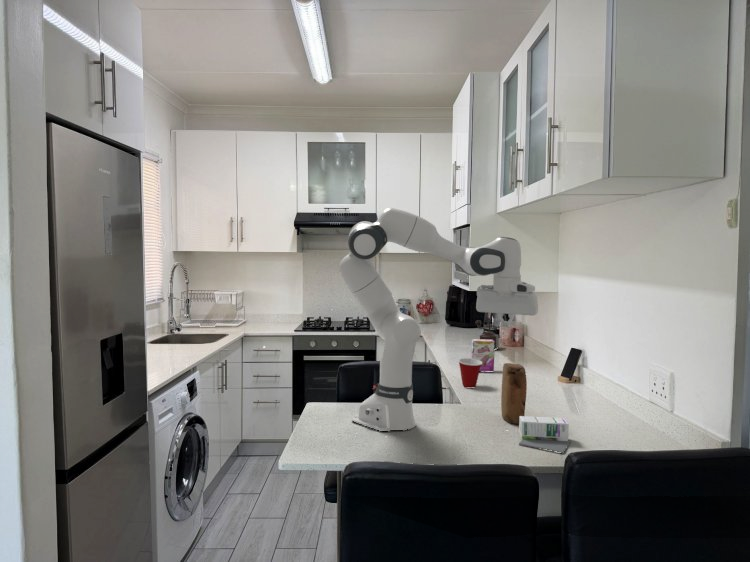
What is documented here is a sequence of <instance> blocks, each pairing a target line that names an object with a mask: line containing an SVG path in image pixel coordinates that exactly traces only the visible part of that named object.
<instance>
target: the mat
mask: <svg viewBox="0 0 750 562" xmlns="http://www.w3.org/2000/svg"><path fill="white" fill-rule="evenodd" d="M570 441H571V442H572V440H571V439H568V441H554V440H536V439H522V438H521V440H520V441H519V443H518V446H521V445H522V446H521V447H525V446H528V447H527V448H530V447H534V448H533V449H535V448H541V449H547V450H552V451H557V452H561V453H563V452H564V450H565V449H566V447H567V446H568V444H569V443H570V444H571V442H570ZM570 444H569V445H570ZM568 447H569V446H568ZM568 447H567V448H568ZM566 450H567V449H566ZM566 450H565V451H566ZM564 453H565V452H564Z"/></svg>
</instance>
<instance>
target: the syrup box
mask: <svg viewBox="0 0 750 562" xmlns="http://www.w3.org/2000/svg"><path fill="white" fill-rule="evenodd" d="M518 433H519V436H520V438H521V440H522V439H536V440H554V441H568V440H569V422H568V421H567V420H566V419H565V418H564V417H548V416H547V417H545V416H525V415H524V416H520V417H519V424H518Z"/></svg>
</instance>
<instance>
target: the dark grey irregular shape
mask: <svg viewBox="0 0 750 562" xmlns="http://www.w3.org/2000/svg"><path fill="white" fill-rule="evenodd" d="M475 325H476V326H477V328H478V329H479V330H483V329H488V331H486V332H485V333H482V334H480V335H479V339H481V340H494V341H495V348H497V347H498V348H499V341H500V340H499V339H500V338H499V336H500V335H499V334H496V333H494V332H493V331H491V327H492V326H491V323H489V324H488V326H483V327H482V321H481V320H480V319H479V320H476V321H475Z"/></svg>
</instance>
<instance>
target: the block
mask: <svg viewBox="0 0 750 562" xmlns="http://www.w3.org/2000/svg"><path fill="white" fill-rule="evenodd" d="M501 376H502V377H501V379H502V380H501V400H500V401H501V403H500V404H501V405H500V406H501V408H500V409H501V418H502V419H503V421H506V422H508V423H509V424H515V425H516V424H517V425H519V417H520V416H525V414H526V413H525V410H526V402H527V389H528V388H527V387H528V385H527V384H528V383H527V372H526V369H525V367H524V365H522V364H520V363H517V364H516V363H512V362H511V363H509V362H508V363H505V362H504V363H503V367H502V375H501Z"/></svg>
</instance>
